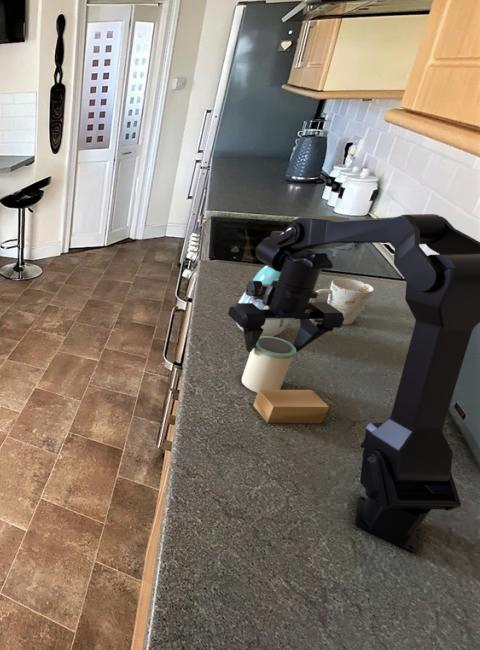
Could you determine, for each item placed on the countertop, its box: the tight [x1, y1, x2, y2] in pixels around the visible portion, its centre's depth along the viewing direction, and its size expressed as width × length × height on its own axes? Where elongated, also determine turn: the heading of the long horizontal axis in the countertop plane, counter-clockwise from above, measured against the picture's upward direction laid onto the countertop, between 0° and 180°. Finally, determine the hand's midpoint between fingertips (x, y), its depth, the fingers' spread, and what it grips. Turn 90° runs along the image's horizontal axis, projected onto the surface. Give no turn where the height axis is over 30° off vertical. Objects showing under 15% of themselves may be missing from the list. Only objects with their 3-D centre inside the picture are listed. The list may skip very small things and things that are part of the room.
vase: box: [235, 265, 291, 337], centre depth 107 cm, size 12×12×18 cm
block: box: [253, 389, 330, 424], centre depth 83 cm, size 5×10×4 cm, turn 88°
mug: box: [309, 278, 375, 325], centre depth 113 cm, size 8×13×10 cm, turn 78°
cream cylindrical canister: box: [241, 336, 297, 394], centre depth 90 cm, size 12×7×12 cm
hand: (271, 351), depth 88 cm, fingers open, 9 cm apart
